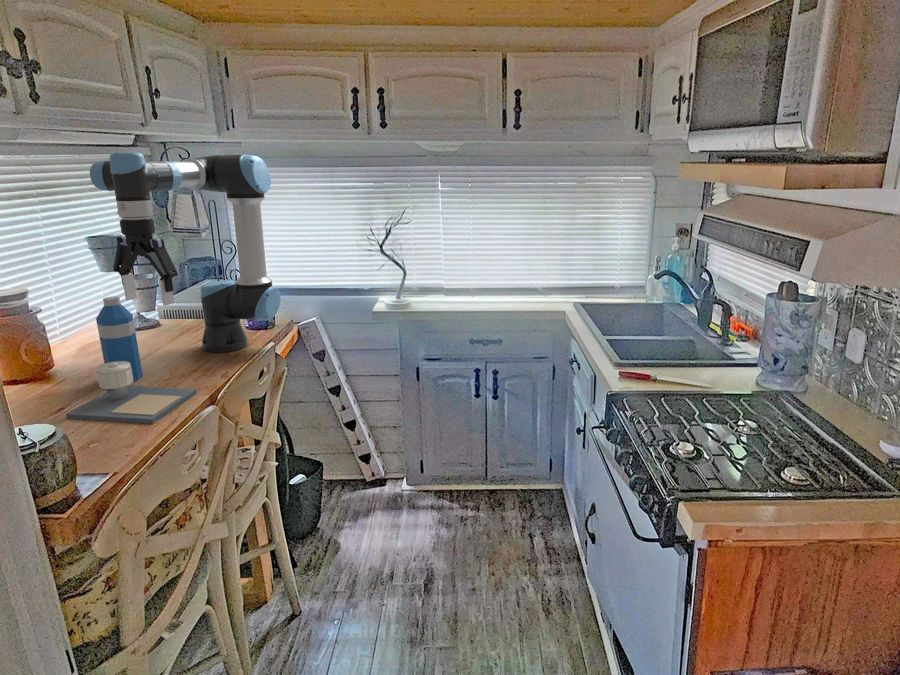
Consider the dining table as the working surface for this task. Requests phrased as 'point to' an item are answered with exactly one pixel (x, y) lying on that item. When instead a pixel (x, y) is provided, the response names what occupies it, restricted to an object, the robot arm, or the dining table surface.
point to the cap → (114, 375)
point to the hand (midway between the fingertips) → (149, 301)
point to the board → (133, 404)
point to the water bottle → (118, 335)
